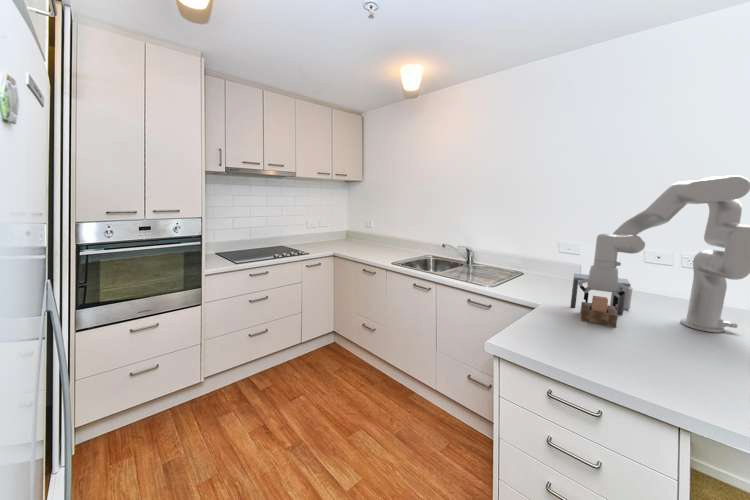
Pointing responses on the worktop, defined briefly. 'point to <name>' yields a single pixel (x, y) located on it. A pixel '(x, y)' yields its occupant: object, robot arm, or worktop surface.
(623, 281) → the grey arch frame
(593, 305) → the peg
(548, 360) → the worktop surface
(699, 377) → the worktop surface
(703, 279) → the robot arm
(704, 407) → the worktop surface
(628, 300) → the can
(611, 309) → the socket block
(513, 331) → the worktop surface
